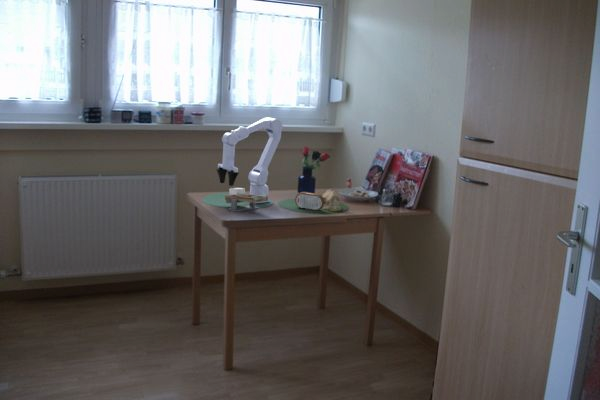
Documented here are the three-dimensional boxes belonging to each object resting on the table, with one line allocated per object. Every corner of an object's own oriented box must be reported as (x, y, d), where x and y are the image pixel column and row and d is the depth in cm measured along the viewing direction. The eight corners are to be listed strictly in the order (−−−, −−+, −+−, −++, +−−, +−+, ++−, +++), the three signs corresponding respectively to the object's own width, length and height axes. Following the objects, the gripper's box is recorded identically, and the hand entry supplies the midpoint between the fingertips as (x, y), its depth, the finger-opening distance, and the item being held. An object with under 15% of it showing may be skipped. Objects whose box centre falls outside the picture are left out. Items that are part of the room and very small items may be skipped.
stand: (251, 206, 301) (251, 195, 299) (257, 208, 297) (258, 197, 296) (228, 209, 291) (228, 198, 290) (234, 211, 288) (235, 200, 286)
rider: (237, 196, 301) (237, 187, 300) (245, 196, 296) (244, 188, 296) (229, 197, 297) (229, 188, 297) (236, 197, 293) (236, 189, 292)
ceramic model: (315, 205, 314) (316, 186, 312) (334, 205, 318) (336, 186, 316) (326, 211, 301) (327, 191, 299) (346, 211, 305) (347, 191, 303)
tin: (324, 210, 303) (325, 194, 301) (322, 211, 300) (323, 195, 298) (296, 206, 307) (297, 190, 306) (293, 208, 304) (295, 191, 303)
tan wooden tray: (240, 201, 303) (240, 192, 303) (268, 204, 287) (268, 194, 287) (224, 203, 297) (224, 194, 296) (252, 206, 280) (252, 196, 280)
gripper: (213, 155, 301) (211, 182, 304) (230, 159, 291) (228, 187, 293) (224, 155, 306) (223, 181, 308) (242, 159, 296) (240, 186, 298)
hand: (226, 184), depth 301 cm, fingers open, 7 cm apart
